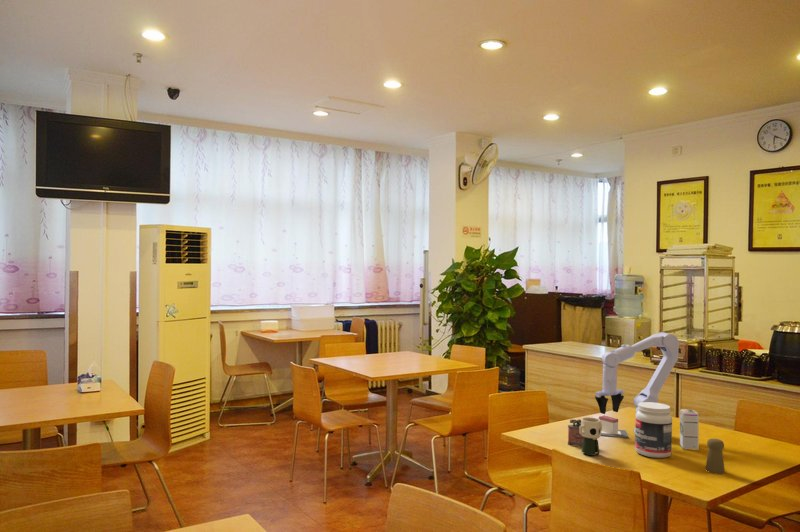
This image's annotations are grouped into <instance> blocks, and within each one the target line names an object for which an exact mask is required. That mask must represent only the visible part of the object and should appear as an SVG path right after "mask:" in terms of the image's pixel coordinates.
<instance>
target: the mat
mask: <svg viewBox="0 0 800 532" xmlns="http://www.w3.org/2000/svg"><path fill="white" fill-rule="evenodd" d="M600 437H611V438H622V439H629V434H628V433H627V430H626V429H618V433H617V434H609V433H606V432H602V431H601V436H600Z"/></svg>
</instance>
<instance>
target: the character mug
mask: <svg viewBox="0 0 800 532" xmlns="http://www.w3.org/2000/svg"><path fill="white" fill-rule="evenodd" d="M580 419H581V426H580V427H579V433H580V434H581V435H582V436H584V437H585V438H584V439H583V445H582V446H581V452H582V453H584V454H585V455H588V456H596V453H597V455H600V447H599V440H598V439H599V438H600V437H602V436H601V431H602V423H601V420H600V419H599V418H595V417H593V416H592V417H590V416H586V417H585V416H584V417H581V418H580Z"/></svg>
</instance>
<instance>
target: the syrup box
mask: <svg viewBox="0 0 800 532" xmlns="http://www.w3.org/2000/svg"><path fill="white" fill-rule="evenodd" d="M699 418H700V415H699V412H697V411H696V410H695V409H689V408H688V409H685V408H684V409H679V447H681V448H682V449H683V450H687V449H695V450H694V451H699V449H700V448H699V441H700V439H699V433H700V432H699V430H700V429H699V425H700V424H699V423H700V422H699V420H700V419H699Z"/></svg>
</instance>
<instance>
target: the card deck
mask: <svg viewBox="0 0 800 532" xmlns="http://www.w3.org/2000/svg"><path fill="white" fill-rule="evenodd" d="M598 419H600V420H601V423H602V432H606V433H609V434H617V433H618V430H619V419H618V418H617V417H612V416H607V415H599V416H598Z"/></svg>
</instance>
